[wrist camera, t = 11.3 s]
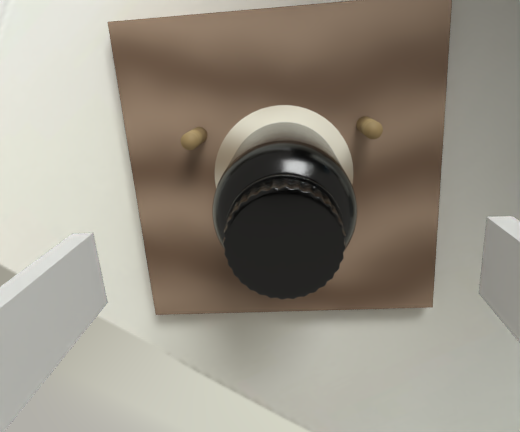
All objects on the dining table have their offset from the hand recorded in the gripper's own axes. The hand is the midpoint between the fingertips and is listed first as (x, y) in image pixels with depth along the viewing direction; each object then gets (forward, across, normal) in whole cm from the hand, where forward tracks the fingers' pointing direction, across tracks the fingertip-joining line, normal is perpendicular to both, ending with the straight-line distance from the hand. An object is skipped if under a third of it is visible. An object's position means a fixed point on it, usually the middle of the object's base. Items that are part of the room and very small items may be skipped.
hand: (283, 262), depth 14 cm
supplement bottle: (+14, 0, 0) cm, 14 cm away
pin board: (+16, 0, 0) cm, 16 cm away
